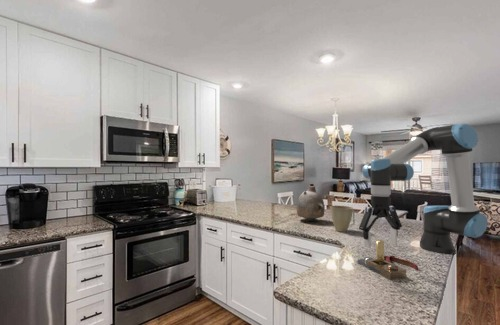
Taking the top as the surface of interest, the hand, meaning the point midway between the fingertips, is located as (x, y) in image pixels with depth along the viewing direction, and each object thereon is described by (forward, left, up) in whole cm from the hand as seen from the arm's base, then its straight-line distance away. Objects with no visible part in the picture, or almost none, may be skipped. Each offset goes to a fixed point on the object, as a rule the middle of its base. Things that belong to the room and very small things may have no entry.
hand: (380, 245), depth 109 cm
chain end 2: (0, +3, -10) cm, 10 cm away
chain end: (0, -2, -10) cm, 10 cm away
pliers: (-13, -5, -11) cm, 18 cm away
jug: (-22, -94, -10) cm, 97 cm away
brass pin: (0, 0, -10) cm, 10 cm away
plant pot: (-27, -62, -10) cm, 68 cm away
